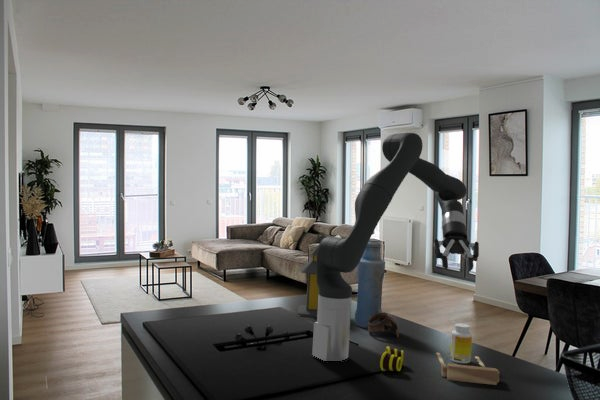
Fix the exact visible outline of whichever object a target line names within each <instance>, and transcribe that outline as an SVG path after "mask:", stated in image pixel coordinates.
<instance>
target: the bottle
mask: <svg viewBox="0 0 600 400" xmlns="http://www.w3.org/2000/svg"><path fill="white" fill-rule="evenodd" d="M379 241H380V240H378V239H371V238H370V240H369V242H368V244H367V247H366V249H365V251H364V254H363V256H362V258H361V260H360V262H359V264H358V265H357V267H356V273H357V282H358V283H357V298H356V309H355V313H354V325H355V326H356V327H359V328H364V329H368V326H369V325H368V322H369V319H370V318H371V317H372V316H374V315H375V314H378V313H382V312H383V310H382V298H383V297H382V295H383V282H384V281H383V280H384V279H383V278H384V276H385V271H386V261H385V260H384V259H382V255H381V254H382V253H381V247H382V245H381V242H379ZM379 322H380V321H379V318H378V319H376V320H375V321H373V322H372V323H371V324H376V323H379Z"/></svg>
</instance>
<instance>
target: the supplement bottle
mask: <svg viewBox="0 0 600 400" xmlns="http://www.w3.org/2000/svg"><path fill="white" fill-rule="evenodd" d="M470 329H471V328H470V325H469V324H465V323H460V322H459V323H455V324H454V330H451V335H450V336H451V337H450V338H451V339H450V355H449V356H450V357H449V358H450V361H452V362H454V363H457V364H462V365H465V364H469V363H470V362H471V359H472V344H473V343H472V342H473V340H472V339H473V334H472V332H470Z"/></svg>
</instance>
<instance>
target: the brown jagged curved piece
mask: <svg viewBox="0 0 600 400" xmlns="http://www.w3.org/2000/svg"><path fill="white" fill-rule="evenodd" d="M378 318H379V321H380V322H379V323H376V324H371V323H372V322H373V321H375V320H376V319H378ZM368 325H369V326H368V328H367V330H368V334H371V333H374V332H381V331H382V332H385V331H387V330H390V333H391V334H395V335H396V338H399V337H400V334H399V328H398V325H397V322H396V321H395V319H394V318H393V317H392V316H390V315H389V314H388V313H387V312H383V311H382V313H378V314H375V315H374V316H372V317H371V318H370V319H369V322H368Z"/></svg>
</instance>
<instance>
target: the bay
mask: <svg viewBox="0 0 600 400" xmlns="http://www.w3.org/2000/svg"><path fill="white" fill-rule="evenodd" d="M435 353H436V356H437V358H438V361H439V363H440V366H441V370H440V371H441V372H440V374H441V377H442V378H446V380H448V381H455V382H464V383H472V384H473V383H474V384H486V385H494V386H497V385H498V383H499V382H500V375H501V374H500V371H499V370H498V369H497V368H495V367H486V366H485V364H484V362H483V361H482V360H481V358H480V357H479V356H474V358H475V360H476V359H477V360H476V361H477V363H478V362H479V363H478V364H479V366H476V365H465V364H456V363H455V364H454V363H447V364H446V363H445V362H444V359H443V357H442V355H441V353H440V352H435Z"/></svg>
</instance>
